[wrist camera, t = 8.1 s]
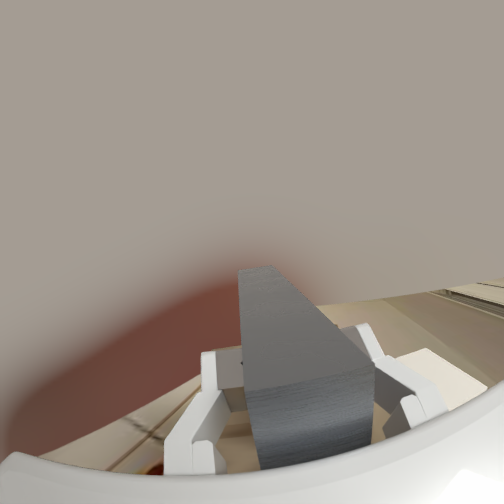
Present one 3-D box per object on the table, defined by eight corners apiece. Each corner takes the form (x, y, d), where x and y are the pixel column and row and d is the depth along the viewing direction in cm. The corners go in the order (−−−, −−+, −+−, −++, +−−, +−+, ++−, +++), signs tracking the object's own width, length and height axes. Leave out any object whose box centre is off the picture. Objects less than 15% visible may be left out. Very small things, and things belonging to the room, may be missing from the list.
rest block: (374, 550, 17) (407, 427, 15) (351, 499, 27) (357, 369, 25) (434, 523, 17) (487, 387, 15) (404, 479, 27) (425, 347, 25)
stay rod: (262, 477, 6) (244, 391, 6) (243, 303, 26) (237, 270, 26) (370, 452, 6) (375, 363, 6) (276, 298, 26) (272, 265, 26)
